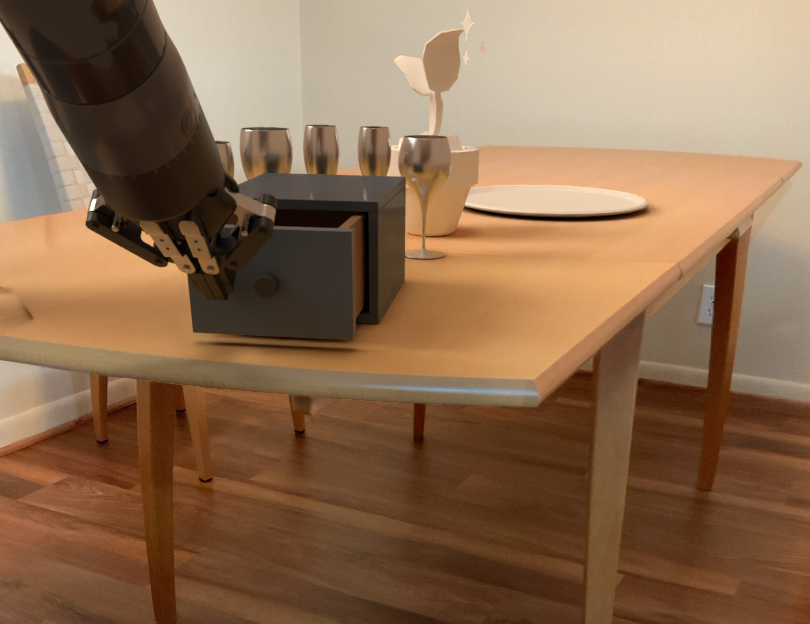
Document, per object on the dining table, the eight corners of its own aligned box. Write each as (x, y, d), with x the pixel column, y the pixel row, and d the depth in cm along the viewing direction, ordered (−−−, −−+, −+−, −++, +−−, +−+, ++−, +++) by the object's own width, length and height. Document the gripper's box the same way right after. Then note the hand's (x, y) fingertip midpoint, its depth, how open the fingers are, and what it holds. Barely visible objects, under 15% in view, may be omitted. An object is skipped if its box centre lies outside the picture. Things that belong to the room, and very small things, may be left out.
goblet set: (200, 275, 91) (186, 129, 85) (190, 264, 96) (177, 125, 90) (457, 258, 100) (462, 125, 94) (437, 248, 105) (440, 121, 99)
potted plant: (494, 236, 112) (506, 0, 100) (410, 243, 107) (413, -4, 96) (442, 221, 122) (448, 4, 110) (363, 227, 117) (361, 1, 105)
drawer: (350, 344, 67) (348, 234, 63) (187, 337, 68) (176, 228, 65) (384, 292, 82) (384, 200, 78) (249, 287, 83) (243, 196, 79)
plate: (688, 208, 135) (689, 199, 134) (562, 229, 117) (563, 219, 117) (536, 187, 154) (537, 179, 153) (409, 203, 136) (409, 194, 136)
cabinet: (378, 324, 76) (378, 201, 71) (219, 317, 77) (209, 196, 73) (404, 280, 90) (405, 176, 86) (270, 275, 92) (264, 172, 87)
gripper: (258, 62, 51) (314, 248, 67) (33, 58, 52) (142, 242, 69) (237, 175, 49) (301, 339, 65) (3, 168, 50) (123, 330, 67)
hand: (219, 289), depth 67 cm, fingers closed
